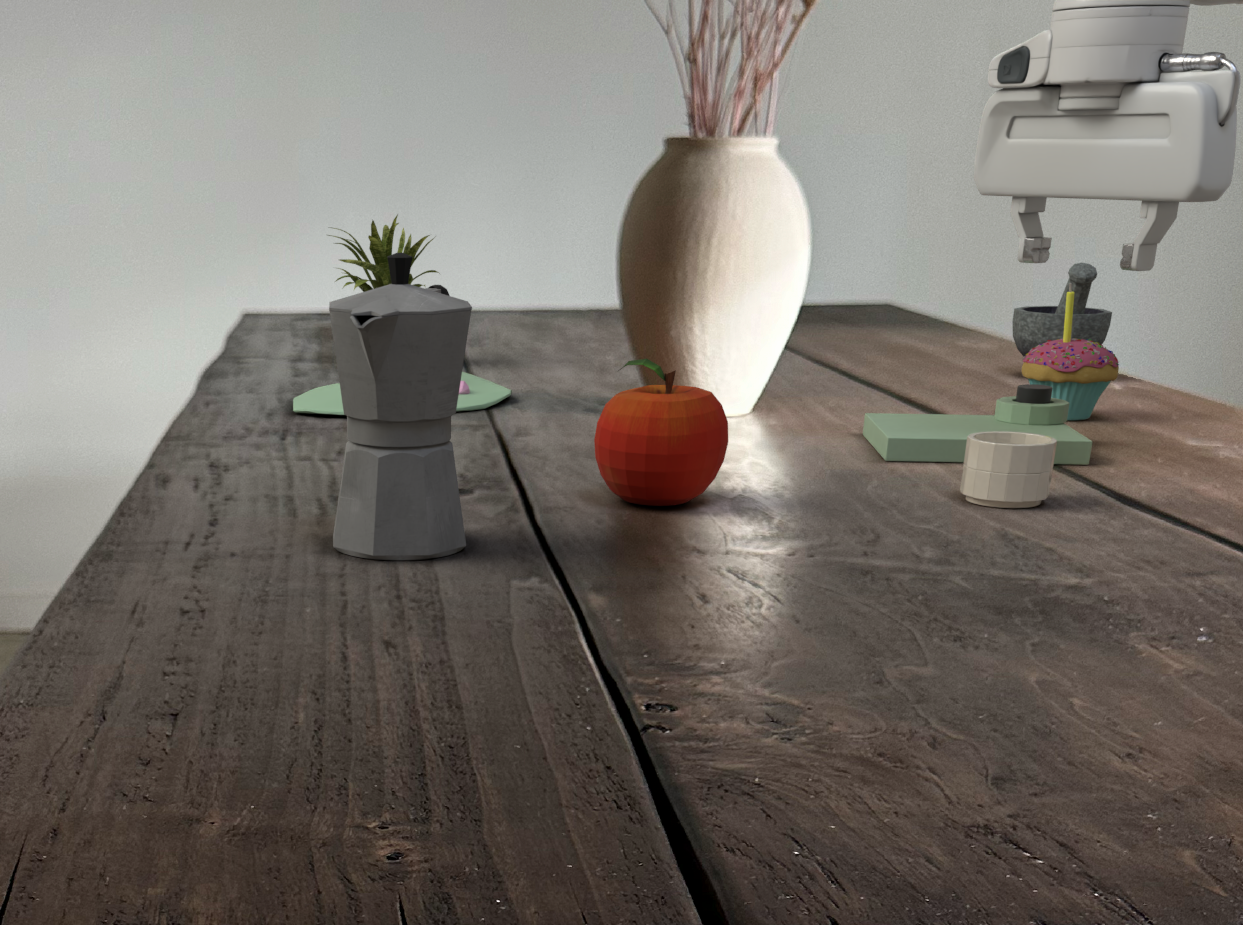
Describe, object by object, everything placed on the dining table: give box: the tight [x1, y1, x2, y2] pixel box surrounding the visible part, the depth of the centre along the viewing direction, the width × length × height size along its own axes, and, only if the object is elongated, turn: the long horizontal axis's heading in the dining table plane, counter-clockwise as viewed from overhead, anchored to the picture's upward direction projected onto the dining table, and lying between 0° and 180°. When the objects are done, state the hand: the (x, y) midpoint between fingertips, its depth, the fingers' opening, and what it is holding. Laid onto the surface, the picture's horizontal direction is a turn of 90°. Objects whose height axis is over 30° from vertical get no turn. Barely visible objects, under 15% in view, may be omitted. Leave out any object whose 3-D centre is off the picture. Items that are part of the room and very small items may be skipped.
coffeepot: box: [328, 252, 473, 561], centre depth 109 cm, size 15×9×18 cm, turn 159°
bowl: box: [959, 431, 1057, 509], centre depth 123 cm, size 6×6×4 cm
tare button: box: [1015, 383, 1052, 404], centre depth 145 cm, size 3×3×2 cm
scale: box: [862, 395, 1093, 466], centre depth 143 cm, size 16×13×4 cm
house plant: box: [327, 214, 442, 292], centre depth 193 cm, size 14×14×16 cm
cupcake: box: [1021, 283, 1120, 421], centre depth 157 cm, size 9×8×12 cm
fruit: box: [593, 358, 729, 507], centre depth 122 cm, size 10×10×10 cm
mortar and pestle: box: [1011, 262, 1113, 376], centre depth 182 cm, size 11×9×12 cm
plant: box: [292, 371, 513, 416], centre depth 168 cm, size 25×21×9 cm
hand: (1082, 266), depth 124 cm, fingers open, 8 cm apart
